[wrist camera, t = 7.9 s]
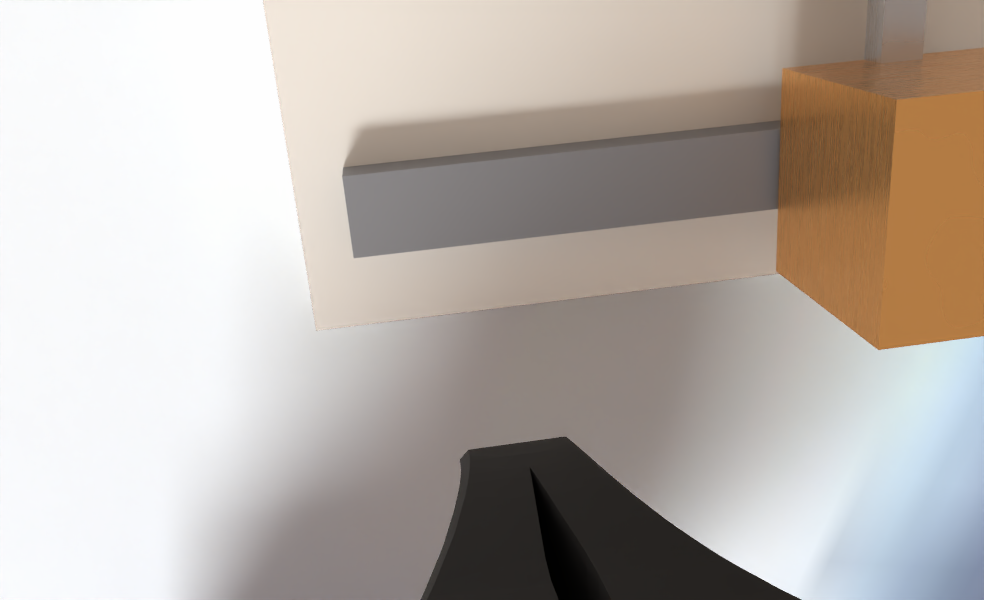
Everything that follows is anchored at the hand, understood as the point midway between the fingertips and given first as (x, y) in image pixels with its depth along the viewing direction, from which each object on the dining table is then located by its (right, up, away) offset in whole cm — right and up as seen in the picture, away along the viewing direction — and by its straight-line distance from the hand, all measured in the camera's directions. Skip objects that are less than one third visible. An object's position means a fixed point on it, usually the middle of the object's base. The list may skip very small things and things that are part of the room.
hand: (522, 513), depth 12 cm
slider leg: (+7, +7, +7) cm, 12 cm away
